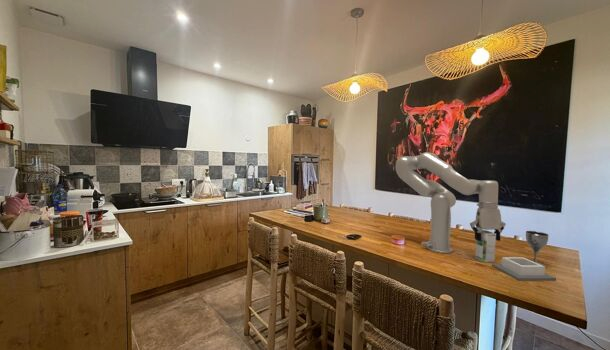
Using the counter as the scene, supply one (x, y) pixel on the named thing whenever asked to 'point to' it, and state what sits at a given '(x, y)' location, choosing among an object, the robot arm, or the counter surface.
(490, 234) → the syrup box
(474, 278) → the counter surface
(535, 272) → the dock
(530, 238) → the wine glass
